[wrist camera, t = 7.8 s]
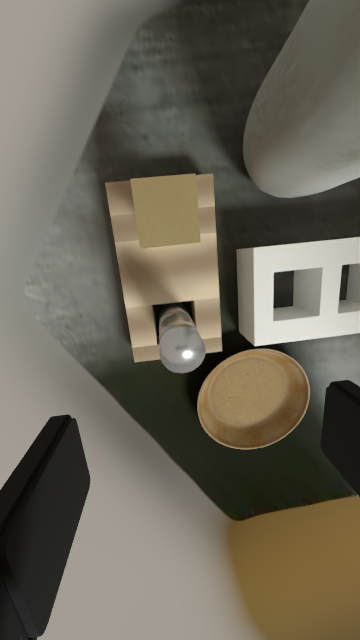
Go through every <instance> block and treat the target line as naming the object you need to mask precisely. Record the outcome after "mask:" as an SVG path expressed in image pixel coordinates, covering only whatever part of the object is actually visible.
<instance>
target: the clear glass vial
mask: <svg viewBox="0 0 360 640" xmlns="http://www.w3.org/2000/svg"><path fill="white" fill-rule="evenodd" d="M205 352H206V349H205V344H204V342H203V340H202V338H201V336H200V334H199V332H198V330H197V328H196V327H195V325H194V323H193V321H192V319H191V317H190V315H189V313H188V311H187V309H186V308H185V307H184V306H183V305H182V304H180V303H178V302H175V303H167V304H165V305H164V306H163V307H162V308H161V310H160V313H159V354H160V359H161V361H162V363H163V364H164V366H165V367H166V368H168V369H169V370H171V371H173V372H176V373H187V372H190V371H193V370H194V369H196V368H197V367H198V366H199V365H200V364H201V363H202V361H203V360H204V357H205Z"/></svg>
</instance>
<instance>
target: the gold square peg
mask: <svg viewBox="0 0 360 640" xmlns="http://www.w3.org/2000/svg"><path fill="white" fill-rule="evenodd" d="M130 180H131V188H132V195H133V202H134V209H135V217H136V224H137V231H138V238H139V245H140V248H151V247H162V246H172V245H182V244H192V243H199V242H201V240H200V226H199V212H198V197H197V183H196V173H195V174H183V175H171V176H159V177H146V178H134V179H130Z"/></svg>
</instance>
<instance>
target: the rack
mask: <svg viewBox="0 0 360 640" xmlns="http://www.w3.org/2000/svg"><path fill="white" fill-rule="evenodd" d="M236 251H237V284H238V317H239V332H240V333H241V334H242V335H243V336H244V337H245V338H246V339H247V340H248V341H249V342H251V343H252V344H253V345H254V346H261V345H269V344H277V343H285V342H293V341H300V340H308V339H316V338H324V337H332V336H340V335H347V334H355V333H360V237H353V238H343V239H333V240H323V241H314V242H304V243H294V244H284V245H274V246H265V247H255V248H245V249H236ZM347 264H349V274H348V285H347V295H346V300H340V301H339V293H340V282H341V271H342V265H347ZM292 270H294V290H293V306H289V307H281V308H273V296H274V272H283V271H292Z"/></svg>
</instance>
